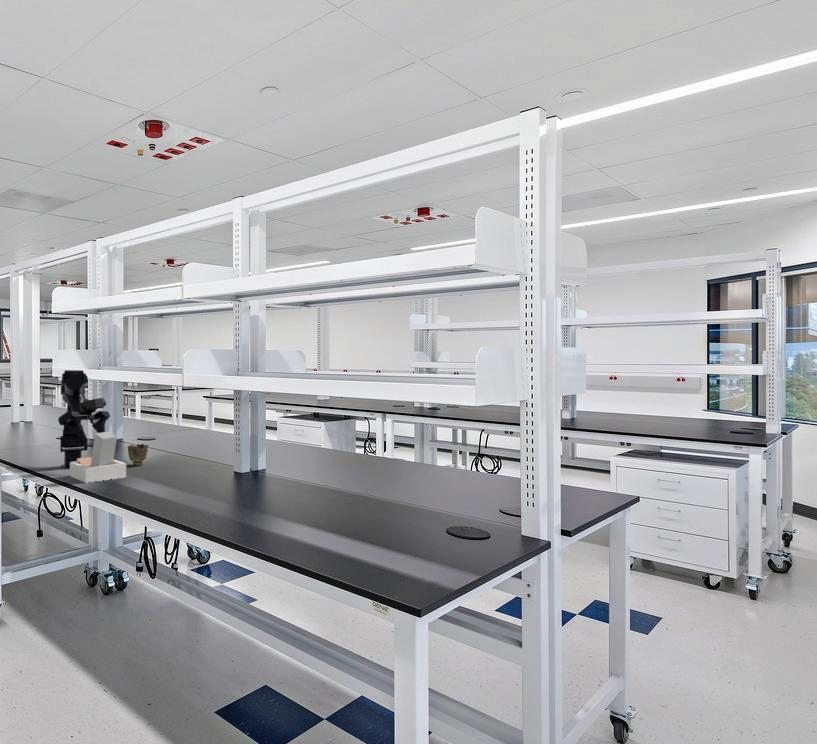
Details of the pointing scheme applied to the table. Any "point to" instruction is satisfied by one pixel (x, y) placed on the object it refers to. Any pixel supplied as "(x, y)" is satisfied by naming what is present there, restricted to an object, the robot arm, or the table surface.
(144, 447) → the cup
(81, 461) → the trapdoor
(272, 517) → the table surface
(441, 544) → the table surface
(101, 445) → the stone pillar
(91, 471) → the trapdoor frame
